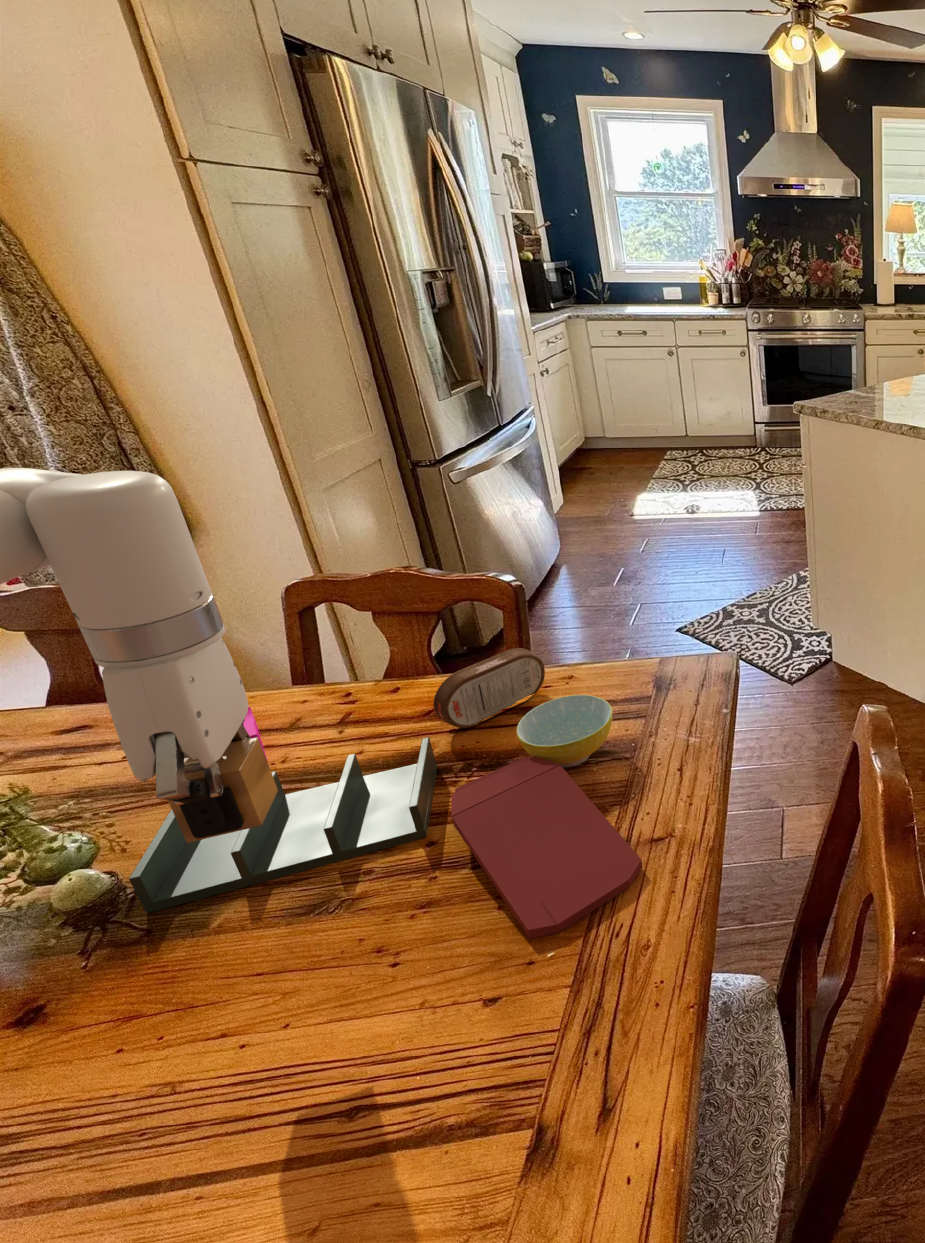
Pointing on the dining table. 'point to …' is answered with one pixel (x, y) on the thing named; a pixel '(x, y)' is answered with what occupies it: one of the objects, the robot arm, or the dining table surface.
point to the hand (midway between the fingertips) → (231, 808)
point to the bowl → (566, 729)
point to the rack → (292, 834)
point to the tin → (488, 687)
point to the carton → (543, 844)
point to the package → (239, 784)
